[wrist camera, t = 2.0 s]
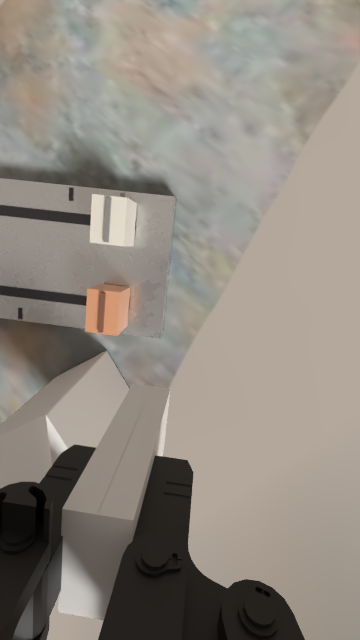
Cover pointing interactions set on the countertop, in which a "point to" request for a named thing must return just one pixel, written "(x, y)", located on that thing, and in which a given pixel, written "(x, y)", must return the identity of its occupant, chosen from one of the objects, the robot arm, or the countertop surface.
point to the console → (80, 255)
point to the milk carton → (60, 419)
